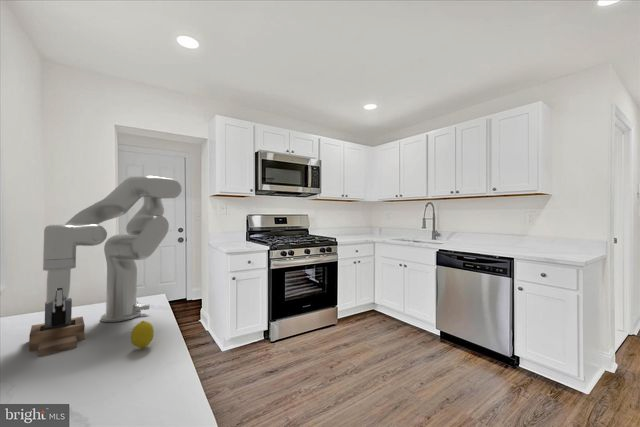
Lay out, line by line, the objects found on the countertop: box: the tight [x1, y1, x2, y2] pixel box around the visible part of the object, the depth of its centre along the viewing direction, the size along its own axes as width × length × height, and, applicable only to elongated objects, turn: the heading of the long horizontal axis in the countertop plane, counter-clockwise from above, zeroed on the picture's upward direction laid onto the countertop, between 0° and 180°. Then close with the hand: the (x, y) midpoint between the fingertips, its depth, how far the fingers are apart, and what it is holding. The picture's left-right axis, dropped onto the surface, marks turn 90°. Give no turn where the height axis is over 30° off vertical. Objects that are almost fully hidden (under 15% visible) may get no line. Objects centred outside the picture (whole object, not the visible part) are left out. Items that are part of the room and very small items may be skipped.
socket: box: [28, 316, 86, 357], centre depth 87 cm, size 12×22×4 cm, turn 43°
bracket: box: [44, 297, 73, 330], centre depth 87 cm, size 6×4×10 cm, turn 133°
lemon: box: [130, 320, 155, 350], centre depth 81 cm, size 6×6×8 cm
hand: (58, 322), depth 87 cm, fingers closed on bracket, 3 cm apart
